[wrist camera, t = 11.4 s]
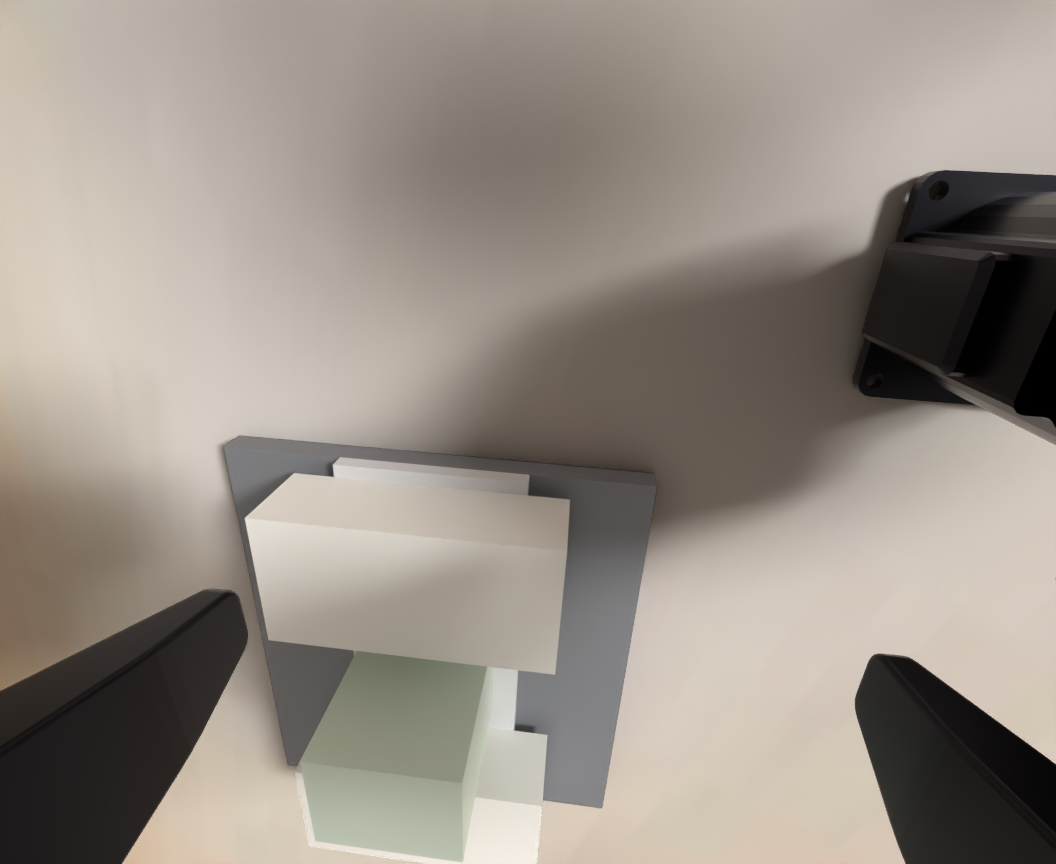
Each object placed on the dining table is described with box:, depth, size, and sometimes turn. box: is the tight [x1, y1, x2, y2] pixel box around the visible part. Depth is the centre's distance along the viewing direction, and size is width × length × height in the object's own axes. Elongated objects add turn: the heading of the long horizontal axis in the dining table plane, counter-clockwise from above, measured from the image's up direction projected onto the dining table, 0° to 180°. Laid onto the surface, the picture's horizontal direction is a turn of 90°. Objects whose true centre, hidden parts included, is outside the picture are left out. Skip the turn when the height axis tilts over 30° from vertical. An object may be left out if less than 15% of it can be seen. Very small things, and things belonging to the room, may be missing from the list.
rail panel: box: [223, 436, 657, 864], centre depth 21 cm, size 16×18×5 cm
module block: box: [300, 651, 494, 862], centre depth 19 cm, size 5×4×6 cm
